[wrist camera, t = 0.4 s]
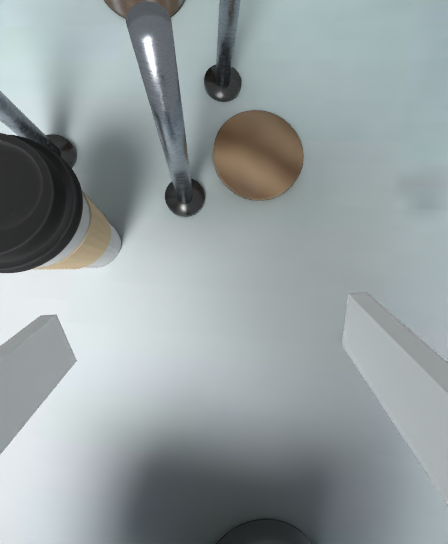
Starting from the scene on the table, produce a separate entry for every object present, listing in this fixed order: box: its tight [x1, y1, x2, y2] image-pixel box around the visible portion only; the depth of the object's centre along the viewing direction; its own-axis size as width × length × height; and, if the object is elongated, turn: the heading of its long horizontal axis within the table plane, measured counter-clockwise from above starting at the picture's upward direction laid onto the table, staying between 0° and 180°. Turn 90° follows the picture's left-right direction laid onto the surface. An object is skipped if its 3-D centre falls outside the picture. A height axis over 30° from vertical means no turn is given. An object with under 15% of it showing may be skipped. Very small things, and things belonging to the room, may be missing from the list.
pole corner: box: [126, 1, 205, 217], centre depth 20 cm, size 5×5×20 cm
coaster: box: [213, 110, 303, 200], centre depth 31 cm, size 12×12×1 cm
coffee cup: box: [0, 133, 121, 273], centre depth 22 cm, size 9×9×15 cm
